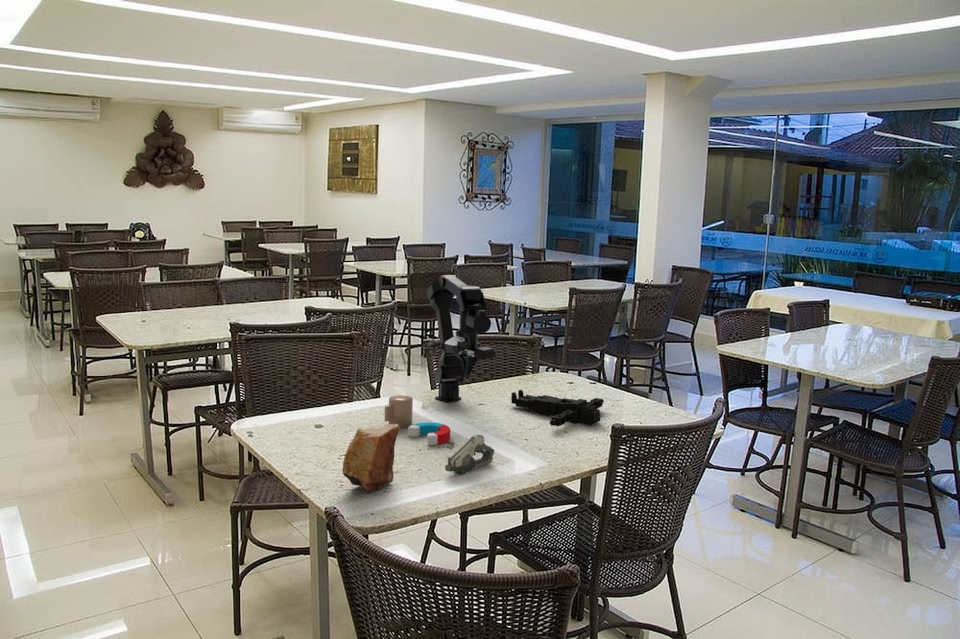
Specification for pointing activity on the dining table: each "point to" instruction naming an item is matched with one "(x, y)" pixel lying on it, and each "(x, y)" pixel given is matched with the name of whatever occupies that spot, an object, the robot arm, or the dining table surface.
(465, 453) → the futuristic pistol
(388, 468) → the stone
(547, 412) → the toy
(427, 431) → the magnet
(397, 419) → the cup
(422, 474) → the dining table surface
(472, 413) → the dining table surface
